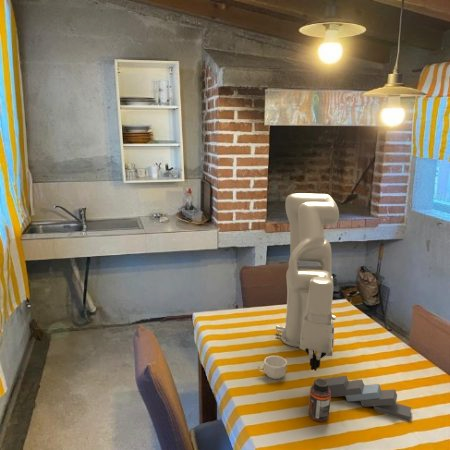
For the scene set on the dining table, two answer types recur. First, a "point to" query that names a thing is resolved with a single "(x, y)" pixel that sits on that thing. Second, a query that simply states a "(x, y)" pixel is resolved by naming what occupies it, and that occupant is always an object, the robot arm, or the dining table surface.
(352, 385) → the domino
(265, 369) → the teacup
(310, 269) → the robot arm
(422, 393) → the dining table surface
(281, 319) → the dining table surface
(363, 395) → the domino
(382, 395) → the domino
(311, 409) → the supplement bottle
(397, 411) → the domino
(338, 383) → the domino
